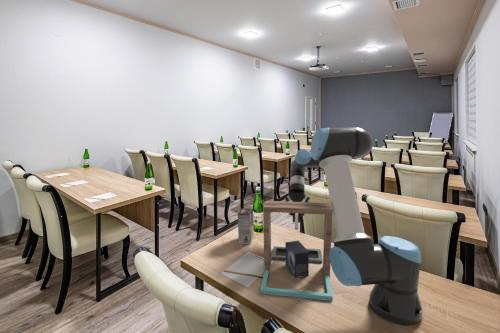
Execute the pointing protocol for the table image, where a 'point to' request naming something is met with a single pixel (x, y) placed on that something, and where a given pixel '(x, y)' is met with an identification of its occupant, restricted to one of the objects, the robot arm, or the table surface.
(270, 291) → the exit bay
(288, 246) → the small box
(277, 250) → the pit plate
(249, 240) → the coffee box
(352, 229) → the robot arm
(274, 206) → the tunnel
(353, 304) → the table surface
